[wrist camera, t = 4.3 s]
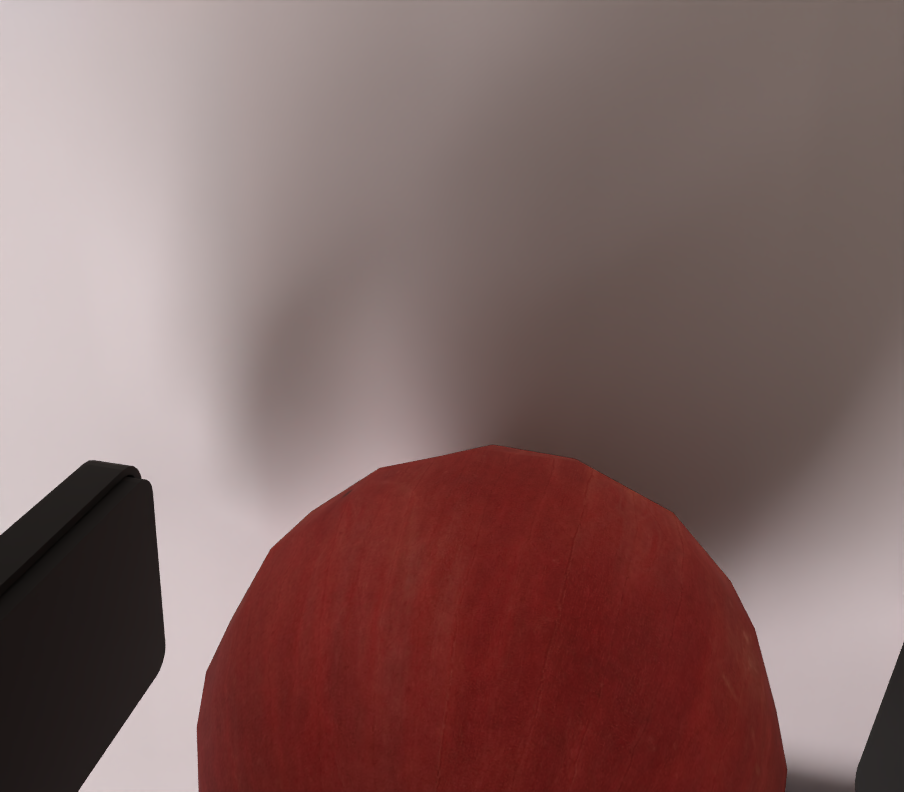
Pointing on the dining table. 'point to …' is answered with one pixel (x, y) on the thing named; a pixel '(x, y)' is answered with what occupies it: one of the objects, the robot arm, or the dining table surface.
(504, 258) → the dining table surface
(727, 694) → the onion
